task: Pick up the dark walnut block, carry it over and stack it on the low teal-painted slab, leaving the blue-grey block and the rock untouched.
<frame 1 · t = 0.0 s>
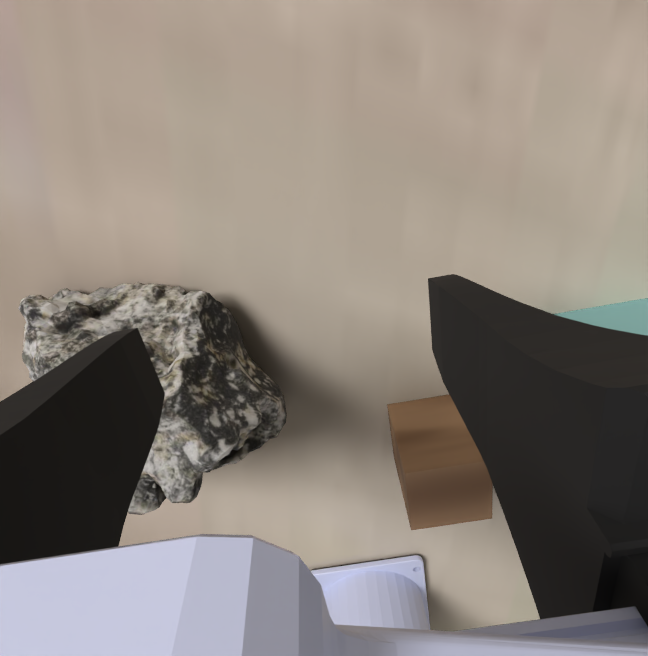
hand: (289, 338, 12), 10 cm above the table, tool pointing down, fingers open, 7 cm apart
teal slab: (590, 354, 25), on the table
walnut block: (425, 425, 27), on the table
rock: (160, 358, 24), on the table
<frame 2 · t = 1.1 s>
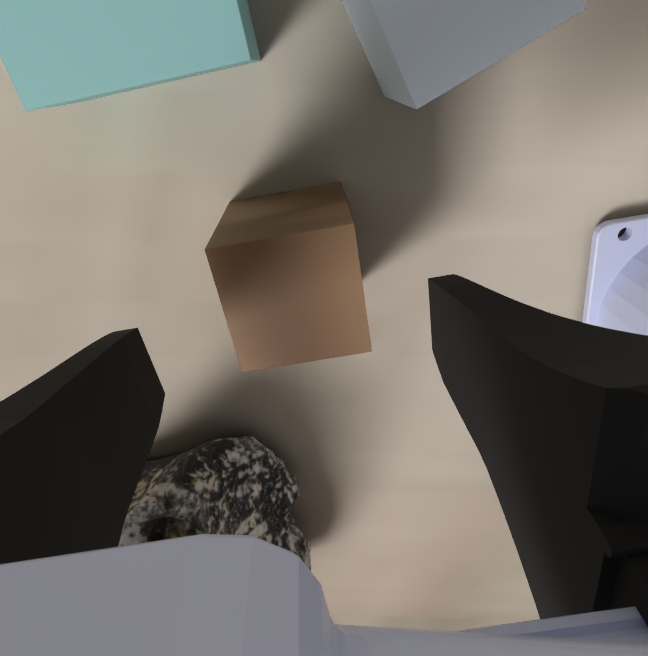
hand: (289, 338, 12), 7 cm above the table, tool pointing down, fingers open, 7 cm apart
walnut block: (295, 244, 18), on the table
rock: (207, 506, 25), on the table
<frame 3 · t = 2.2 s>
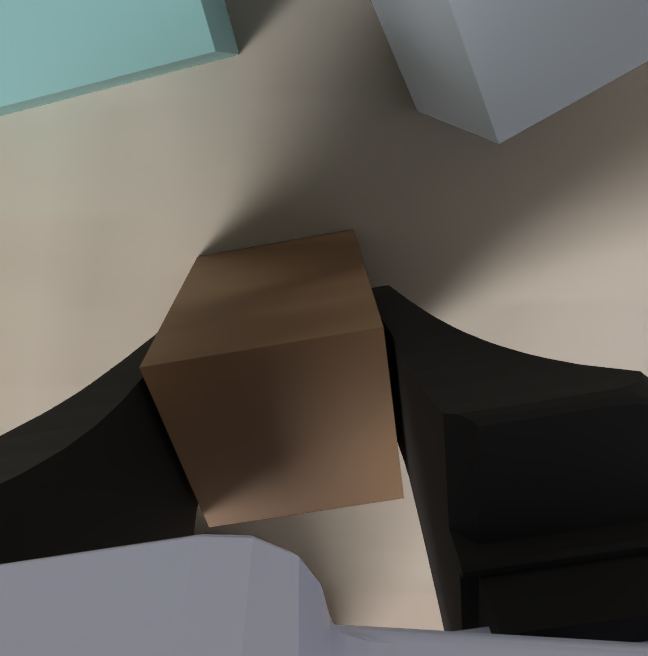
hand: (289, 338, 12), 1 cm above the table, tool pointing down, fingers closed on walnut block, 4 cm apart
walnut block: (290, 312, 13), on the table, touching gripper
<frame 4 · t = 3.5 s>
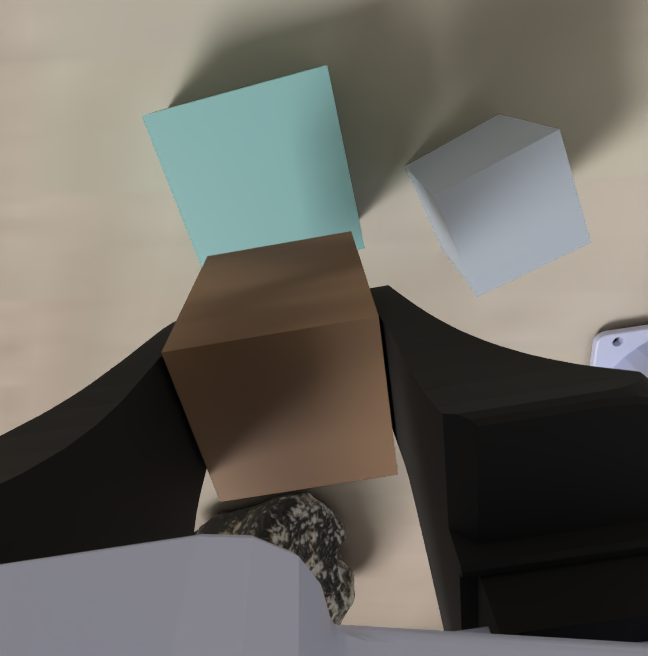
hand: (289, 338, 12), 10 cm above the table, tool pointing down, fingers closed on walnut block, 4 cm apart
teal slab: (268, 167, 19), on the table
walnut block: (293, 308, 14), point 7 cm above the table, touching gripper
rock: (268, 544, 31), on the table
bluegrey block: (467, 185, 20), on the table
when the fingers open (6 cm above the table, at t = 4.6 s): walnut block stays where it is, resting on teal slab.
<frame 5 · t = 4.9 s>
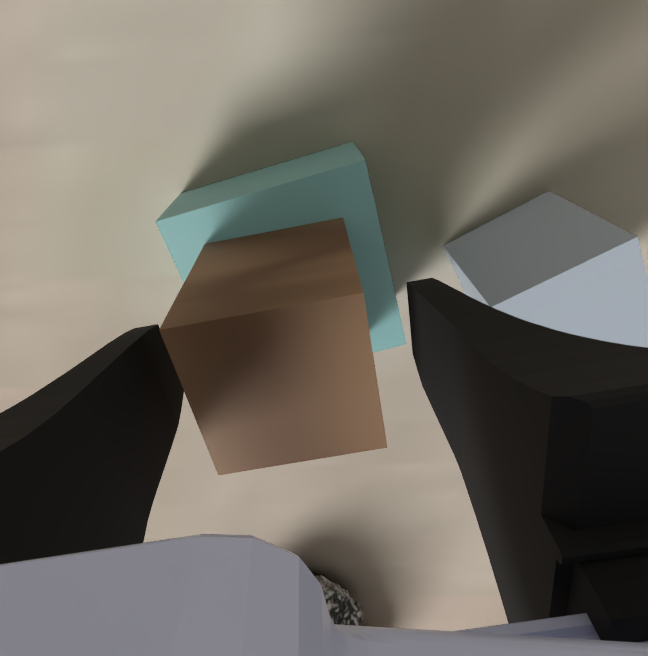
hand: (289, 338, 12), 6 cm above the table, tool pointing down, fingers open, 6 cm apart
teal slab: (292, 248, 17), on the table, touching walnut block
walnut block: (288, 293, 14), point 3 cm above the table, touching teal slab
rock: (282, 620, 29), on the table
bluegrey block: (511, 263, 18), on the table
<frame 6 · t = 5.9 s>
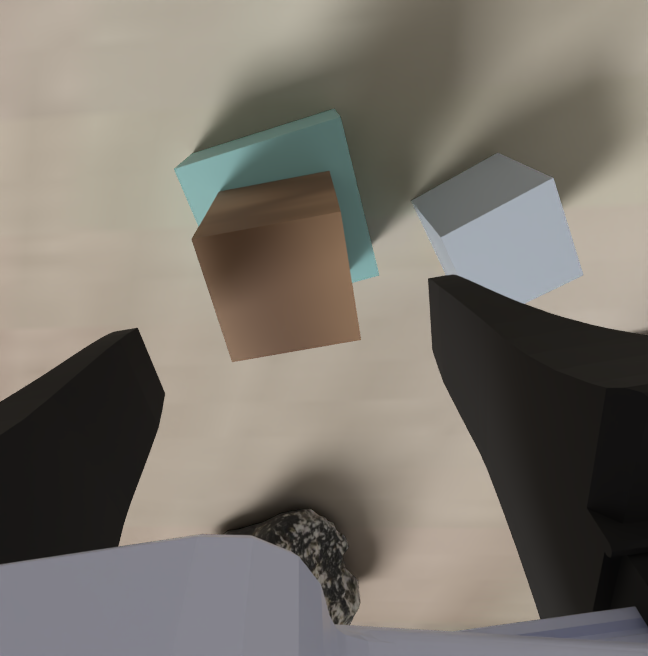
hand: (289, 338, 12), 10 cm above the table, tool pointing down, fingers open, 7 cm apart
teal slab: (285, 201, 21), on the table, touching walnut block
walnut block: (285, 234, 18), point 3 cm above the table, touching teal slab
rock: (277, 556, 33), on the table
bluegrey block: (469, 216, 21), on the table
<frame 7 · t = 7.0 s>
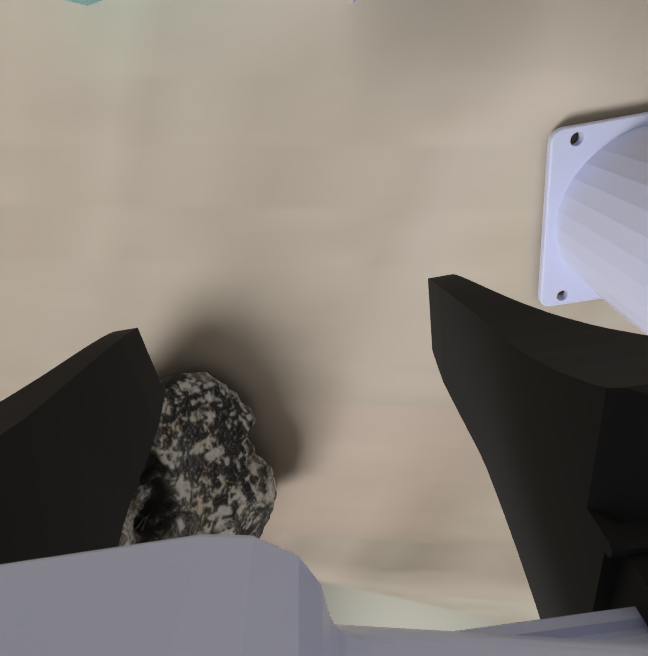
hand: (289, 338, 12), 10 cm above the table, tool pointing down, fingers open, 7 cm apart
rock: (183, 445, 28), on the table
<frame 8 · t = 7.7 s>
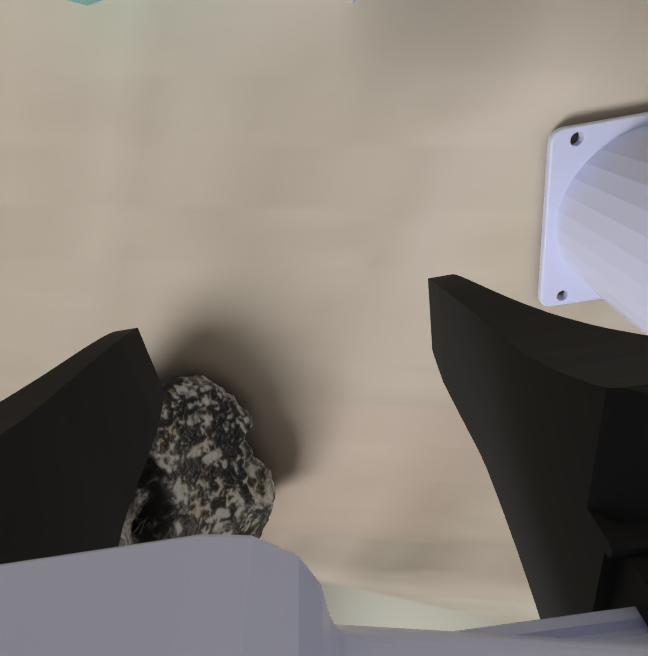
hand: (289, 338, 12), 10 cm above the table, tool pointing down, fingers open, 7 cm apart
rock: (181, 448, 28), on the table
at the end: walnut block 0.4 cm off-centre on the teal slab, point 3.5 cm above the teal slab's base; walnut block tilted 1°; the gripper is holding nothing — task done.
